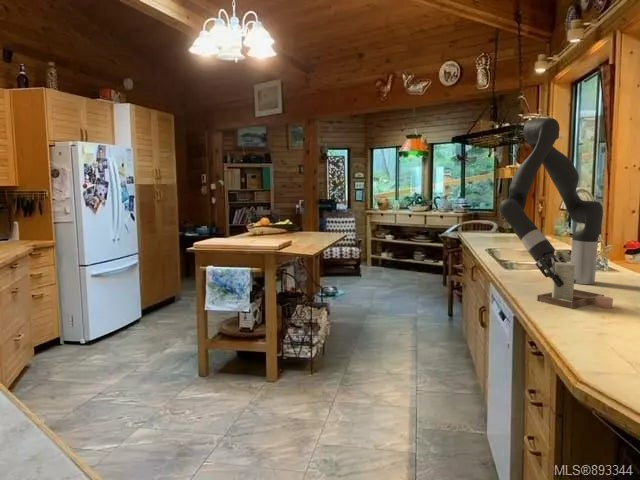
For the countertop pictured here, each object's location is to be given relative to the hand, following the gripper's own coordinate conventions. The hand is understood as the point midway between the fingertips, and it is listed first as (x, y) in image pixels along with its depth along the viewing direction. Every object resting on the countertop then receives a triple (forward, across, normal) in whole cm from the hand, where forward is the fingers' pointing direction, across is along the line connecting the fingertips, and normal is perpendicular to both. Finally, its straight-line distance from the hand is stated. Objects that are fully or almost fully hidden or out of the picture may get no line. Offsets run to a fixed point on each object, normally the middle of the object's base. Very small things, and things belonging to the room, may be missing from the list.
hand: (567, 284), depth 166 cm
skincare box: (+3, 0, +5) cm, 5 cm away
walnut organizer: (+4, +5, +6) cm, 9 cm away
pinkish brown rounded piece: (+11, +7, -1) cm, 13 cm away
